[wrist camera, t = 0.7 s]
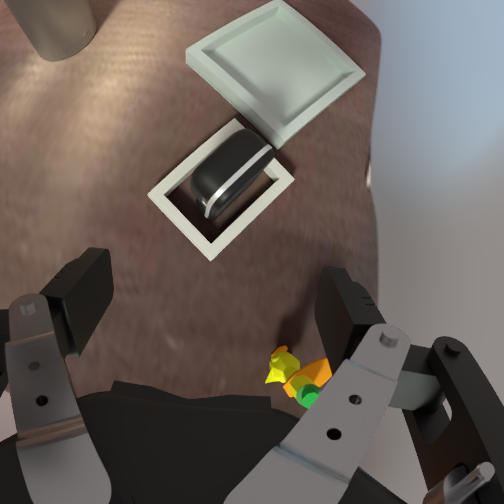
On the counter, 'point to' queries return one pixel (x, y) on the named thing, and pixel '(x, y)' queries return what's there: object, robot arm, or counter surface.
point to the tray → (274, 69)
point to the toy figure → (298, 375)
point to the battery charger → (229, 171)
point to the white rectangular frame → (188, 167)
